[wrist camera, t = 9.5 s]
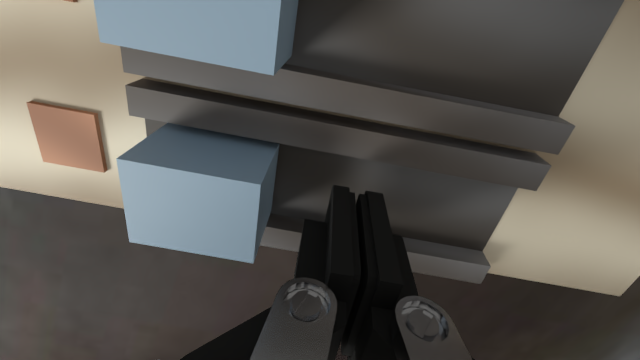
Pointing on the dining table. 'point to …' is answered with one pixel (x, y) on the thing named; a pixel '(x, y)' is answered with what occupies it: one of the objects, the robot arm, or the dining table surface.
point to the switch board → (372, 124)
